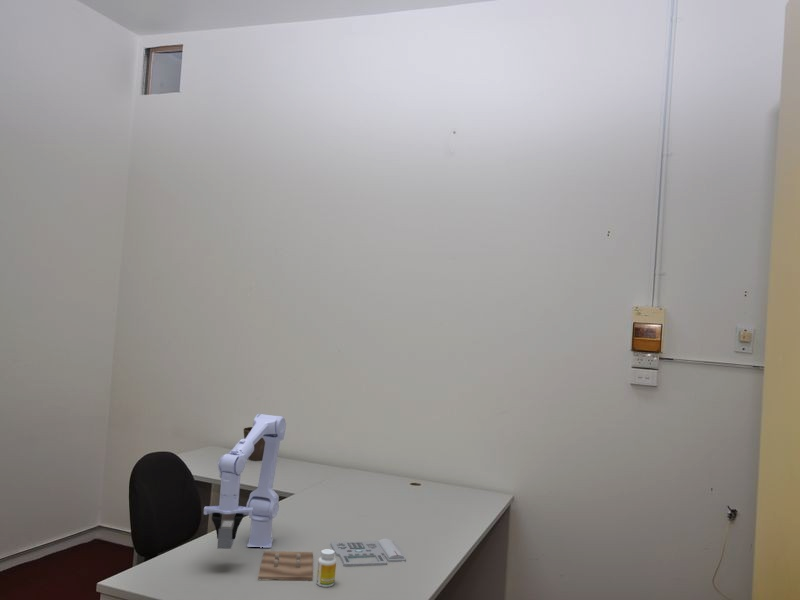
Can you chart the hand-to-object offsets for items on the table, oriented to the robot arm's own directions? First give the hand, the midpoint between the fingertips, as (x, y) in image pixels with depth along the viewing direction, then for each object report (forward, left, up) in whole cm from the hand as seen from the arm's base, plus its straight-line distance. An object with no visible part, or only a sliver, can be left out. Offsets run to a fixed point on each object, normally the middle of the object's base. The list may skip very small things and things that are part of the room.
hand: (226, 537), depth 194 cm
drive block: (0, 0, -2) cm, 2 cm away
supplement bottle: (+10, +31, -10) cm, 34 cm away
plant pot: (-143, -4, -10) cm, 143 cm away
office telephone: (-14, +46, -10) cm, 49 cm away
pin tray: (-2, +19, -9) cm, 21 cm away
